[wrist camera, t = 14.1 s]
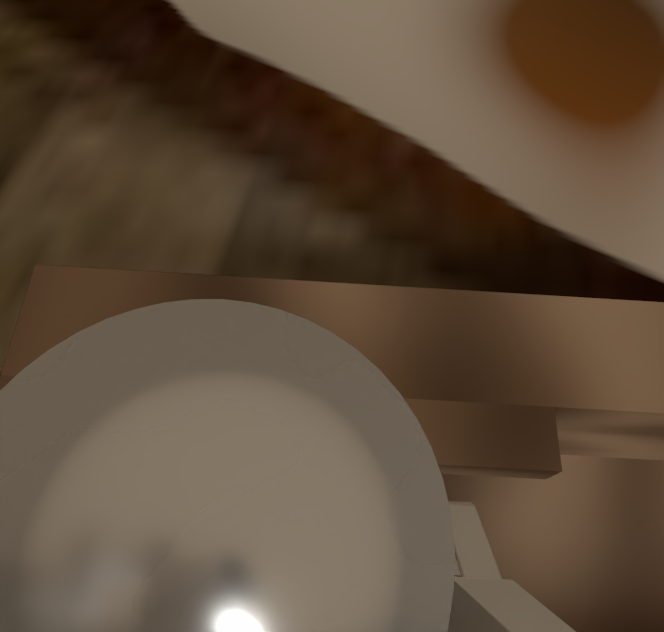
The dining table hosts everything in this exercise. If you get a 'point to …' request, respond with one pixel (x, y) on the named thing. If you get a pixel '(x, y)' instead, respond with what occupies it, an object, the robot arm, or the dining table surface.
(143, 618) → the steel peg
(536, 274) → the dining table surface
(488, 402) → the wooden compartment tray
